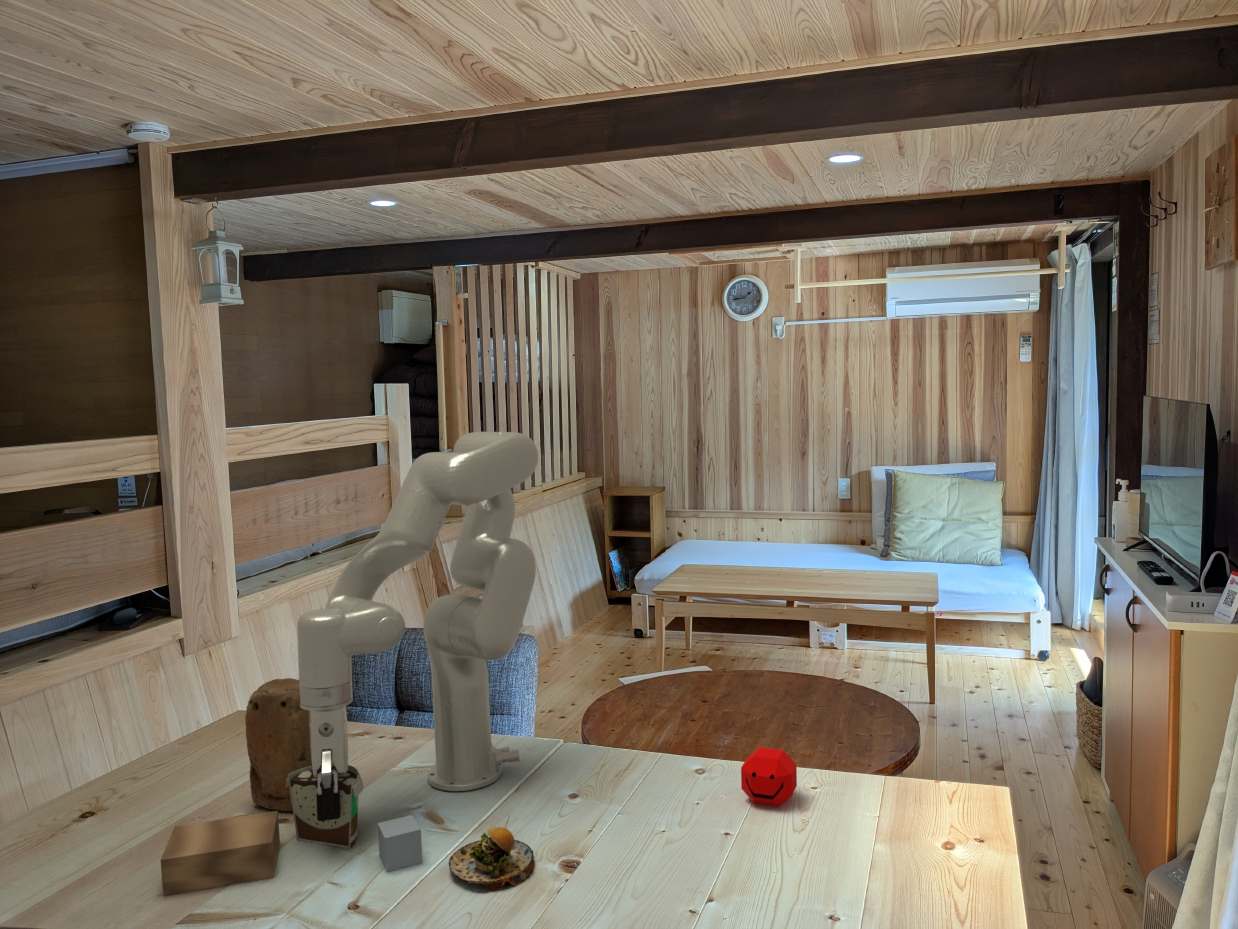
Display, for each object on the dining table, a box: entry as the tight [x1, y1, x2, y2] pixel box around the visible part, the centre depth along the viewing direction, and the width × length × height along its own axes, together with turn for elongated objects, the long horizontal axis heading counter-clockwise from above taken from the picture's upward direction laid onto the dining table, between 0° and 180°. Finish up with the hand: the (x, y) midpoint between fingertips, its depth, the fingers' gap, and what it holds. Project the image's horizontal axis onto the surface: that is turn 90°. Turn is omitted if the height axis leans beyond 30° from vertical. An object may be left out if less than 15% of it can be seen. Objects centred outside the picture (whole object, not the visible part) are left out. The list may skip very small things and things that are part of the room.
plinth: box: [160, 810, 281, 897], centre depth 128 cm, size 14×10×5 cm
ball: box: [740, 747, 798, 807], centre depth 144 cm, size 8×8×8 cm
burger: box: [448, 815, 535, 893], centre depth 126 cm, size 12×12×8 cm
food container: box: [286, 764, 364, 849], centre depth 137 cm, size 12×6×10 cm, turn 71°
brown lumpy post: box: [244, 677, 312, 812], centre depth 148 cm, size 11×8×20 cm
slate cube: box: [377, 814, 424, 873], centre depth 129 cm, size 5×5×5 cm
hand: (329, 805), depth 136 cm, fingers open, 9 cm apart
